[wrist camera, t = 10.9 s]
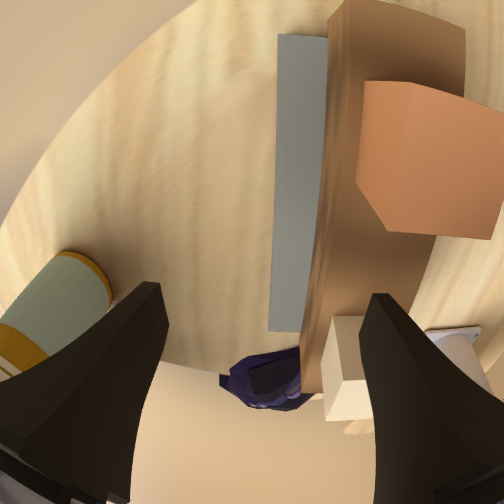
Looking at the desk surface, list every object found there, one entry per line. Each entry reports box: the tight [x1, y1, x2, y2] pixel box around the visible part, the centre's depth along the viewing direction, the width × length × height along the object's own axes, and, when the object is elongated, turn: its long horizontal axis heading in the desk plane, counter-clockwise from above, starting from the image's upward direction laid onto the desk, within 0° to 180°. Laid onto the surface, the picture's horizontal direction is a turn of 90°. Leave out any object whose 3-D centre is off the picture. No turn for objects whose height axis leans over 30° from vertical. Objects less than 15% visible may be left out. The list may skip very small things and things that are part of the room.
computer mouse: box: [219, 346, 316, 411], centre depth 27 cm, size 9×15×4 cm, turn 135°
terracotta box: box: [355, 81, 504, 240], centre depth 8 cm, size 4×4×4 cm
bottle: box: [0, 252, 112, 382], centre depth 18 cm, size 7×7×15 cm
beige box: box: [321, 316, 373, 421], centre depth 14 cm, size 4×4×4 cm
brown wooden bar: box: [299, 0, 465, 393], centre depth 15 cm, size 22×5×5 cm, turn 0°
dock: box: [268, 34, 328, 332], centre depth 18 cm, size 20×10×2 cm, turn 0°
